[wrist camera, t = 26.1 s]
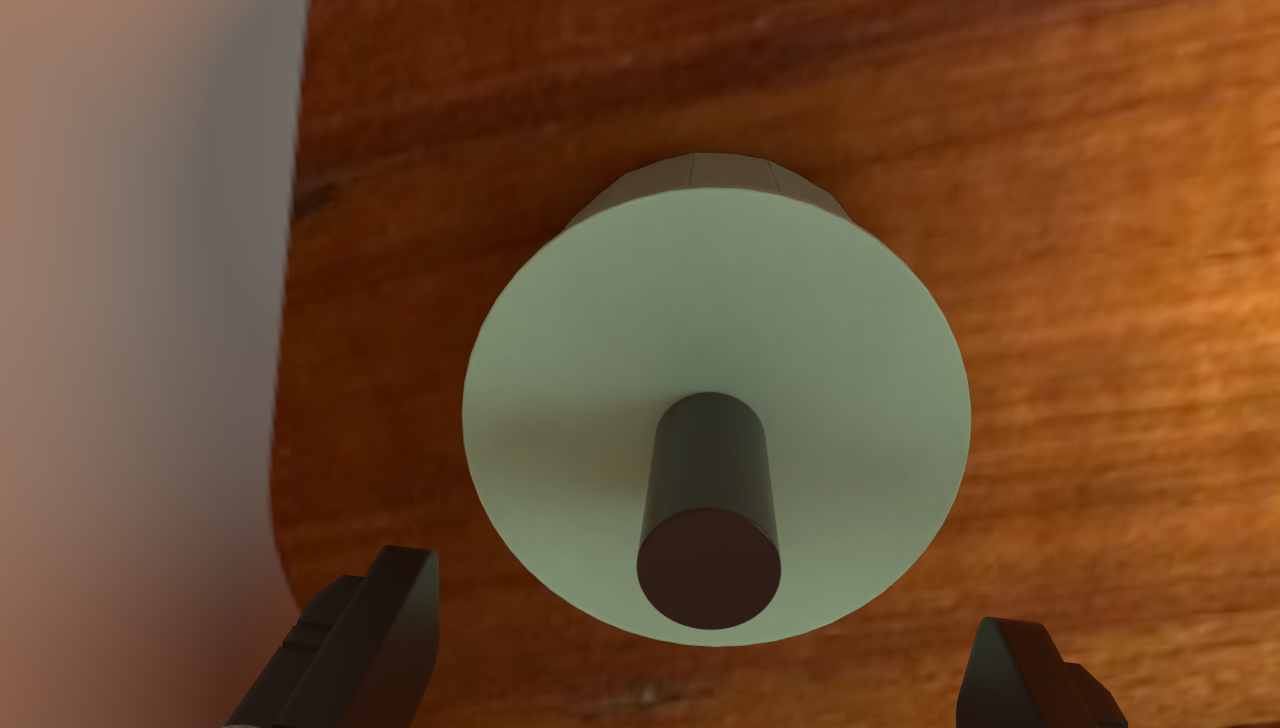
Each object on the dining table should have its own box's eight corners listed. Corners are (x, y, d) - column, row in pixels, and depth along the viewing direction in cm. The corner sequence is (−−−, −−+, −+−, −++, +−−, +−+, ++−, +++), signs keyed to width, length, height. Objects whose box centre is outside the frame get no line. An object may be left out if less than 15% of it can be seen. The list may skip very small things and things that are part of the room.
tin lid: (471, 591, 22) (391, 777, 17) (476, 154, 18) (372, 209, 12) (905, 642, 21) (970, 853, 16) (1011, 204, 17) (1146, 287, 12)
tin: (536, 455, 28) (479, 594, 21) (550, 135, 24) (485, 179, 18) (850, 490, 28) (894, 643, 21) (913, 170, 24) (992, 228, 17)
